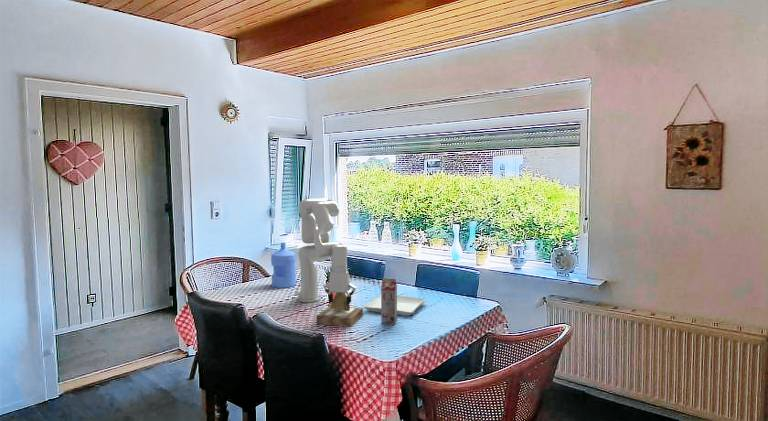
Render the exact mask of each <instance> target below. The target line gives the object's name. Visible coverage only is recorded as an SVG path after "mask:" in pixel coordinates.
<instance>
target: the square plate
mask: <svg viewBox="0 0 768 421" xmlns="http://www.w3.org/2000/svg"><path fill="white" fill-rule="evenodd" d="M425 302H427V299H426V298H421V297H415V296H412V297H411V296H405V295H397V316H411V315H413V313H415V311H417V309H418V308H420V307H421V306H422V305H423V304H424V303H425ZM363 309H365V310H366V311H369V312H376V313H380V314H381V295H379V296H377V297H376V298H373V299H372V300H371V301H369V302H368V303H367V304H365V305H364V306H363Z"/></svg>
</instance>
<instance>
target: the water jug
mask: <svg viewBox="0 0 768 421" xmlns="http://www.w3.org/2000/svg"><path fill="white" fill-rule="evenodd" d="M270 259H271V266H272V267H273V274H271V286H272V287H273V288H279V289H287V288H292V287H295V286H296V284H297V280H296V279H297V278H296V276H297V275H296V272H297V269H296V268H297V267H296V253H295V252H293V251H291V250H290V249H287V248H286V242H280V249H279V250H277V251H275V252H273V253H271V256H270Z"/></svg>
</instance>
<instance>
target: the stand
mask: <svg viewBox="0 0 768 421" xmlns="http://www.w3.org/2000/svg"><path fill="white" fill-rule="evenodd" d="M363 315H364V307H354V306H353V307H351V306H350V310H349V311H343V310H335V309H332V308H330V305H329V306H328V307H327V308H325V309H324V310H322V311H321V312H319V313H318V314H316V315H315V318H316V319H315V321H316V322H315V323H316V325H329V326H338V327H339V326H341V327H353V325H355V324H356V323H357V322H358V321H359V320H360V319H361V318H362V317H363Z"/></svg>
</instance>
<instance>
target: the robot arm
mask: <svg viewBox="0 0 768 421" xmlns="http://www.w3.org/2000/svg"><path fill="white" fill-rule="evenodd" d="M298 212H299V215H300V218H301V241H302V242H303V243H304V244H307V245H305V246H302V247H300V248H299V250H298V259H299V262H300V263H299V265H300V291H298V290H297V291H295V292H294V295H295V296H297V297H298V301H299V302H303V303H312V302H313V303H314V302H318V301H320V300H321V296H320V295H318V294H319V293H318V292H319V291H318V268H317V266H316V265H315V264H314V263H315V262H323V261H327V260H328V259H329V258H331V266H329V269H330V270H331V271H330V273H329V278H328V283H326V284H324V285H323V288H324V291H325V293H326V294H327V295H328V302H329V304H331V302H333V299H334V294H333V293H337V292H339V293H345V294H346V296H347V304H349V305H350V304H351V302H352V295H353V294H354V293H355V292H356V290H357V287H356V286H355V285H353V284H351V279H350V274H349V271H348V247H347V245H346V244H344V243H343V242H341V241H330V233H329V232H330V231H332V230H333V228H334V225H335V224H334V222H333V217H338V215H339V214H340V207H339V205H338V202H336V201H335V200H332V199H330V198H307V199H306V198H305V199H302V200H300V202H299V204H298ZM308 244H310V245H308Z"/></svg>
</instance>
